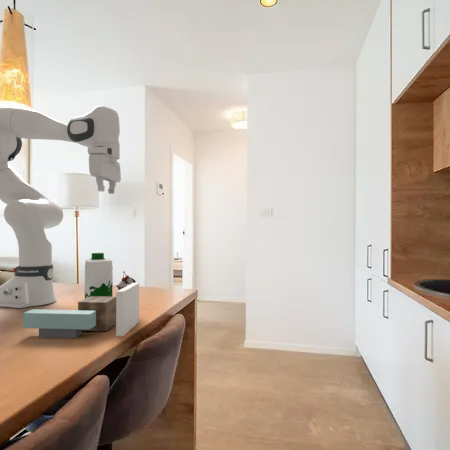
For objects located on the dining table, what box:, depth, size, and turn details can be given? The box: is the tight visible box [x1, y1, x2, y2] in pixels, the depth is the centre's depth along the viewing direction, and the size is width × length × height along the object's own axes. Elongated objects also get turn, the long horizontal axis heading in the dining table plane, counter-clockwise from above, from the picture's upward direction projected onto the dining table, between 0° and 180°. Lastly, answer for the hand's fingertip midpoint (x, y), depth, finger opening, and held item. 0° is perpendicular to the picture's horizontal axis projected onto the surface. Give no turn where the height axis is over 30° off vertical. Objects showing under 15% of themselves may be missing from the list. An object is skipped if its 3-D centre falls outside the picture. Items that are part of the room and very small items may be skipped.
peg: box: [22, 308, 96, 330], centre depth 95 cm, size 18×4×4 cm, turn 87°
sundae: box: [115, 270, 137, 291], centre depth 115 cm, size 7×7×15 cm
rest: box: [38, 328, 82, 339], centre depth 95 cm, size 10×3×2 cm, turn 87°
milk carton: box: [84, 252, 114, 299], centre depth 120 cm, size 9×9×20 cm
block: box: [77, 296, 116, 332], centre depth 102 cm, size 8×8×8 cm
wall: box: [115, 282, 140, 337], centre depth 102 cm, size 2×14×12 cm, turn 177°
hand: (106, 192), depth 124 cm, fingers open, 8 cm apart
